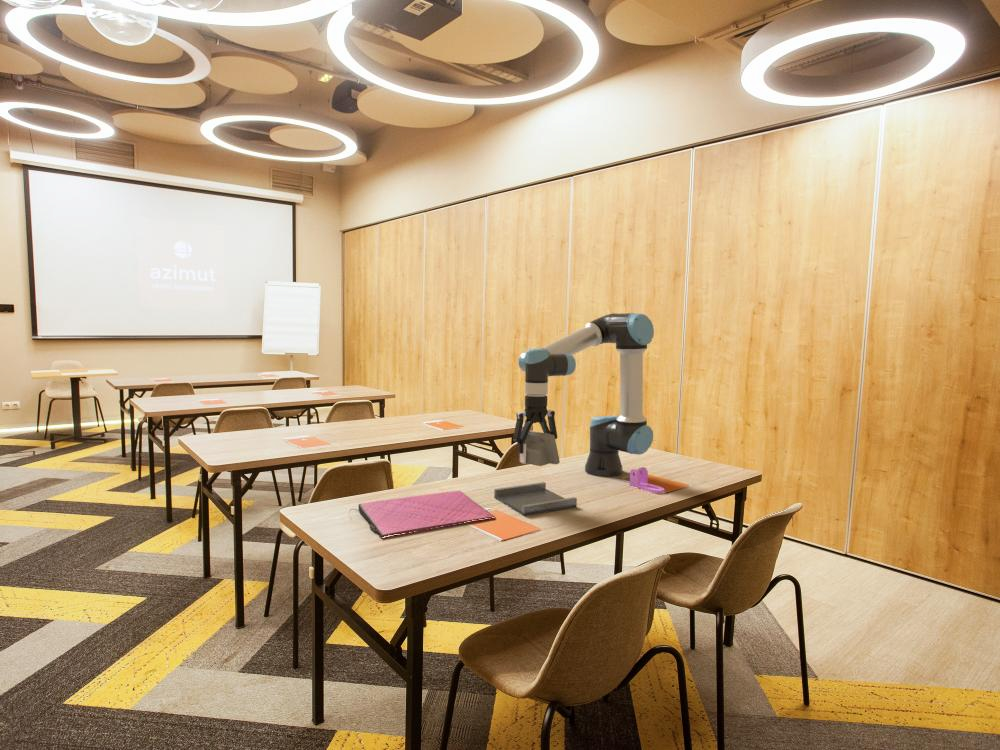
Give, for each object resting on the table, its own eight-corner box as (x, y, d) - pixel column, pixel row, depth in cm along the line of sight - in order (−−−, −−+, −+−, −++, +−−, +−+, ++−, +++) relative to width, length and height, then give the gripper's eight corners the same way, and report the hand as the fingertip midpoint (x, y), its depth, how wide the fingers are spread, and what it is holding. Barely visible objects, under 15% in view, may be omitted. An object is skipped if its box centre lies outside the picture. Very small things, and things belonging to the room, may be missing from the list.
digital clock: (562, 465, 187) (563, 433, 186) (542, 469, 181) (542, 436, 180) (530, 455, 200) (531, 426, 199) (510, 459, 194) (511, 428, 193)
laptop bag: (460, 485, 198) (496, 510, 175) (459, 496, 199) (495, 522, 175) (345, 500, 180) (368, 530, 156) (345, 512, 180) (367, 544, 156)
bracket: (629, 486, 212) (630, 468, 212) (639, 484, 215) (640, 466, 215) (657, 495, 202) (658, 476, 201) (667, 492, 205) (668, 473, 204)
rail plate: (543, 490, 206) (543, 482, 205) (576, 507, 187) (576, 498, 187) (494, 497, 196) (494, 489, 196) (524, 516, 178) (524, 506, 178)
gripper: (557, 392, 196) (555, 455, 199) (502, 395, 187) (501, 462, 189) (569, 394, 190) (567, 460, 192) (513, 397, 180) (512, 467, 182)
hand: (535, 461), depth 190 cm, fingers closed on digital clock, 9 cm apart
